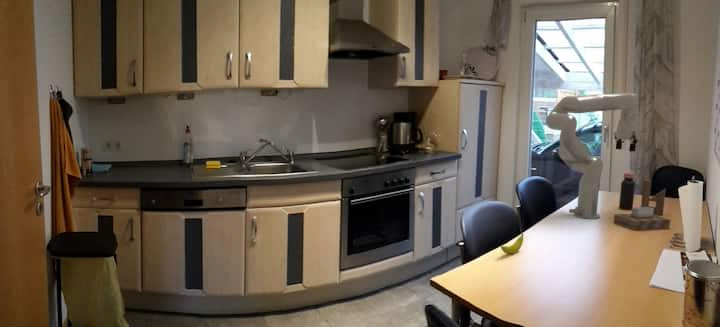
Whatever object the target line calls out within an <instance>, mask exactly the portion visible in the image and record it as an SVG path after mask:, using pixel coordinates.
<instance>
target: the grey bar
mask: <svg viewBox="0 0 720 327" xmlns="http://www.w3.org/2000/svg"><path fill="white" fill-rule="evenodd" d="M653 211H654V208H650V207H640V206H633V207H632V210H631V213H630V214H631V217H633V218H636V219H643V218H653V215H654V214H653Z"/></svg>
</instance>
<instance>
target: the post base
mask: <svg viewBox="0 0 720 327" xmlns="http://www.w3.org/2000/svg"><path fill="white" fill-rule="evenodd" d="M613 224H614V225H617V226H619V227H620V226H621V227H623V228H625V229H629V230H632V231H637V232H638V231H652V230H655V231H656V230H670V226H671V219H669V218H667V217H663V216H661V215H655V214H653V218H643V219H636V218H633V217H631V213H617V214H616V213H615V214H614V216H613Z"/></svg>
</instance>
